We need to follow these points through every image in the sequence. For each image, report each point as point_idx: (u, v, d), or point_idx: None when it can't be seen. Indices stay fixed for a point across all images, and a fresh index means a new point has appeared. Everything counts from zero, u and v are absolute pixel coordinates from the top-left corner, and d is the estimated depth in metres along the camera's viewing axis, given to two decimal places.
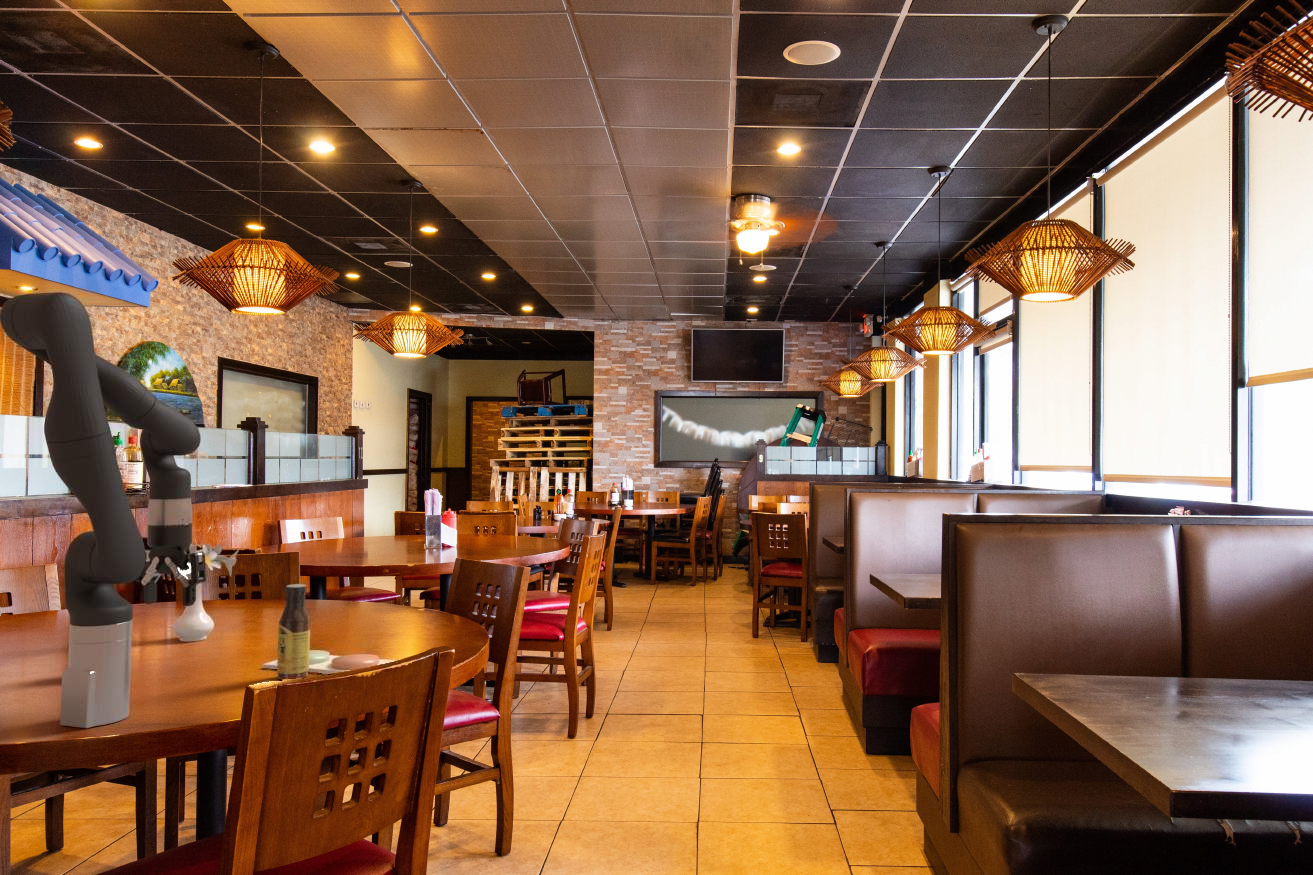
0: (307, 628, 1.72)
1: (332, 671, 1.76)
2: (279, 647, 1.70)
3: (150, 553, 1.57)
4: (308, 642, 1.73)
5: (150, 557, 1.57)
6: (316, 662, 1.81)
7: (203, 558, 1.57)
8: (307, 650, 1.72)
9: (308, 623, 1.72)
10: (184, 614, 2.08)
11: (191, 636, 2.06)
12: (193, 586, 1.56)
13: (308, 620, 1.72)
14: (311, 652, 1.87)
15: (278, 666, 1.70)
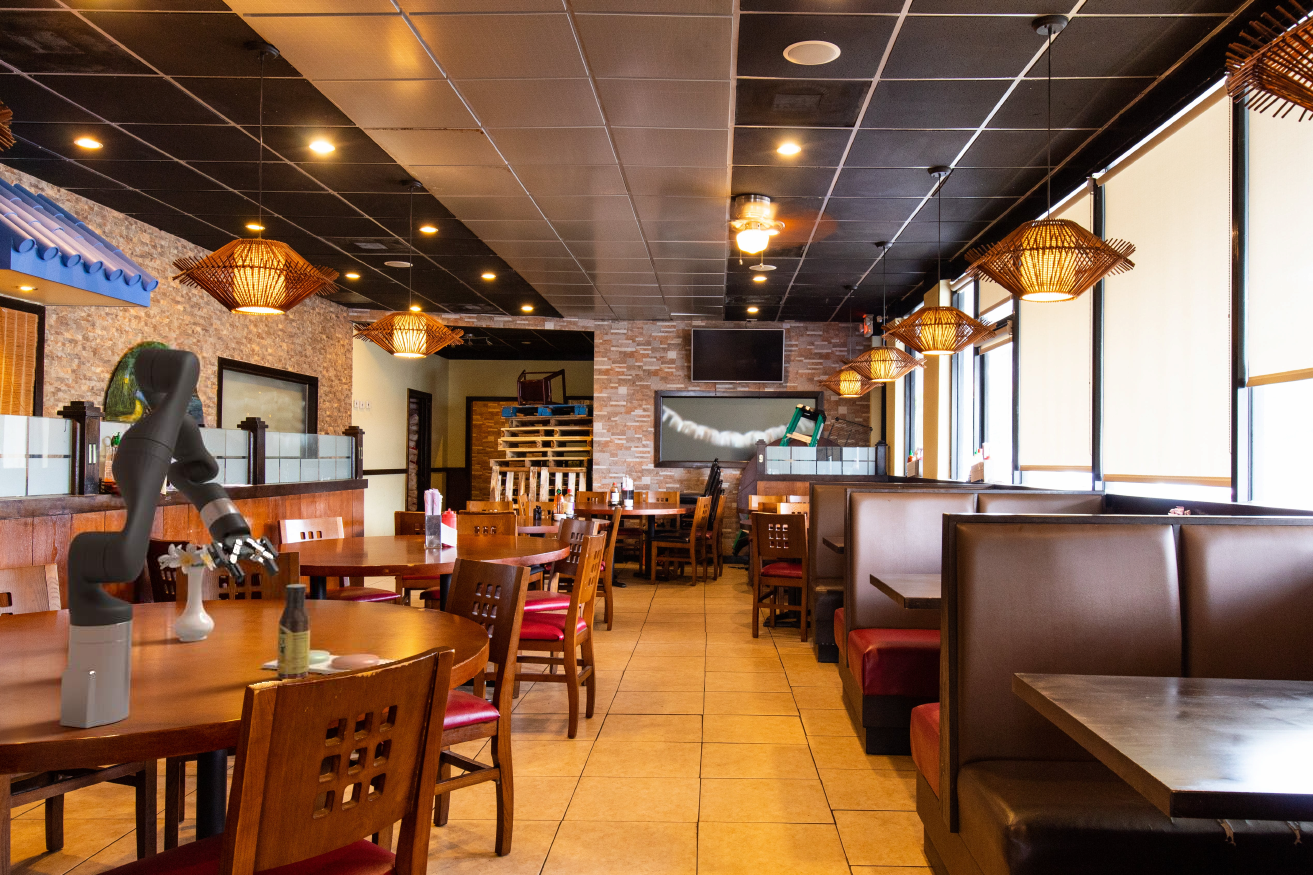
0: (307, 628, 1.72)
1: (332, 671, 1.76)
2: (279, 647, 1.70)
3: (226, 541, 1.78)
4: (308, 642, 1.73)
5: (228, 543, 1.78)
6: (316, 662, 1.81)
7: None
8: (307, 650, 1.72)
9: (308, 623, 1.72)
10: (184, 614, 2.08)
11: (191, 636, 2.06)
12: None
13: (308, 620, 1.72)
14: (311, 652, 1.87)
15: (278, 666, 1.70)
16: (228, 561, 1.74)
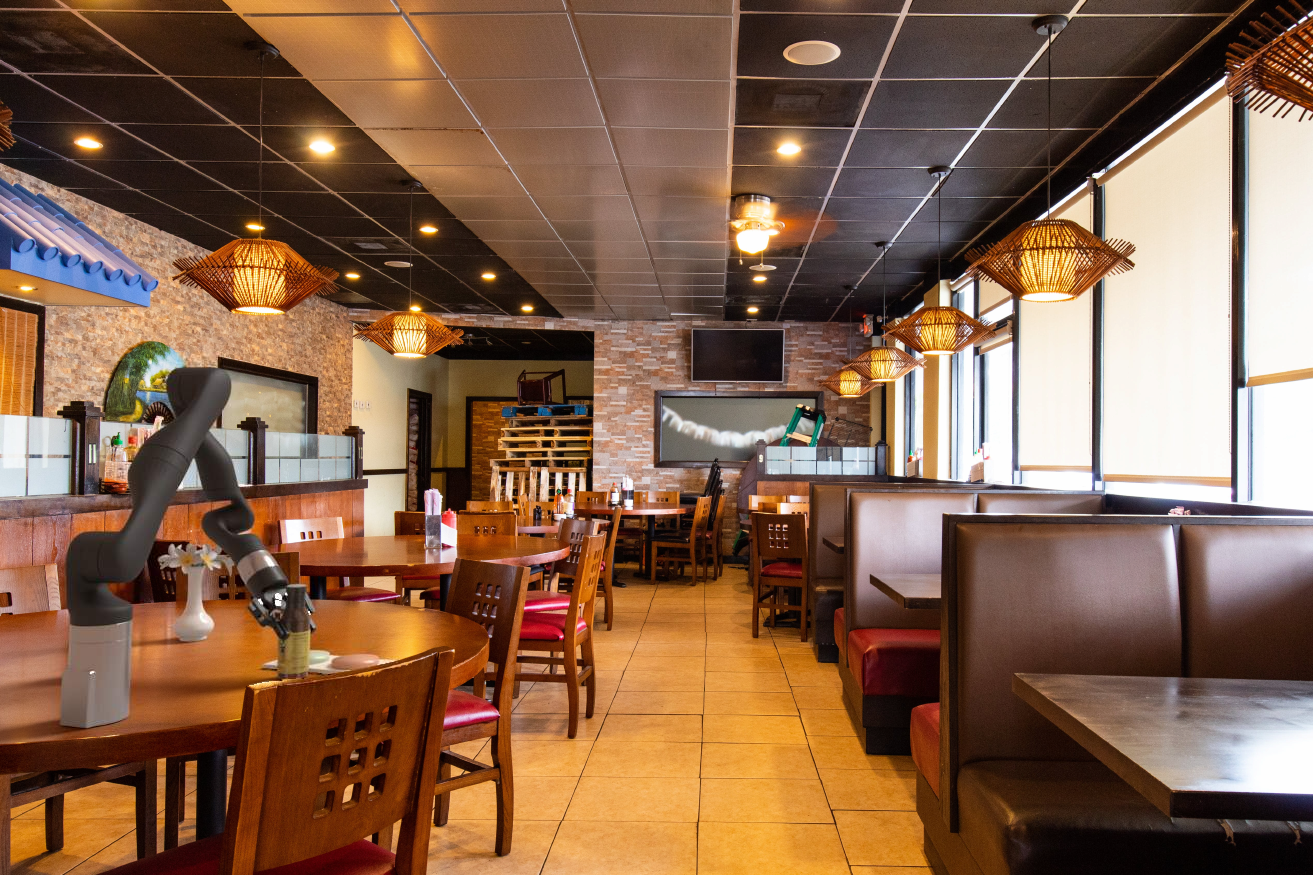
0: (307, 628, 1.72)
1: (332, 671, 1.76)
2: (279, 647, 1.70)
3: (265, 596, 1.72)
4: (308, 642, 1.73)
5: (267, 599, 1.72)
6: (316, 662, 1.81)
7: None
8: (307, 650, 1.72)
9: (308, 623, 1.73)
10: (184, 614, 2.08)
11: (191, 636, 2.06)
12: None
13: (308, 620, 1.72)
14: (311, 652, 1.87)
15: (278, 666, 1.70)
16: (273, 620, 1.69)
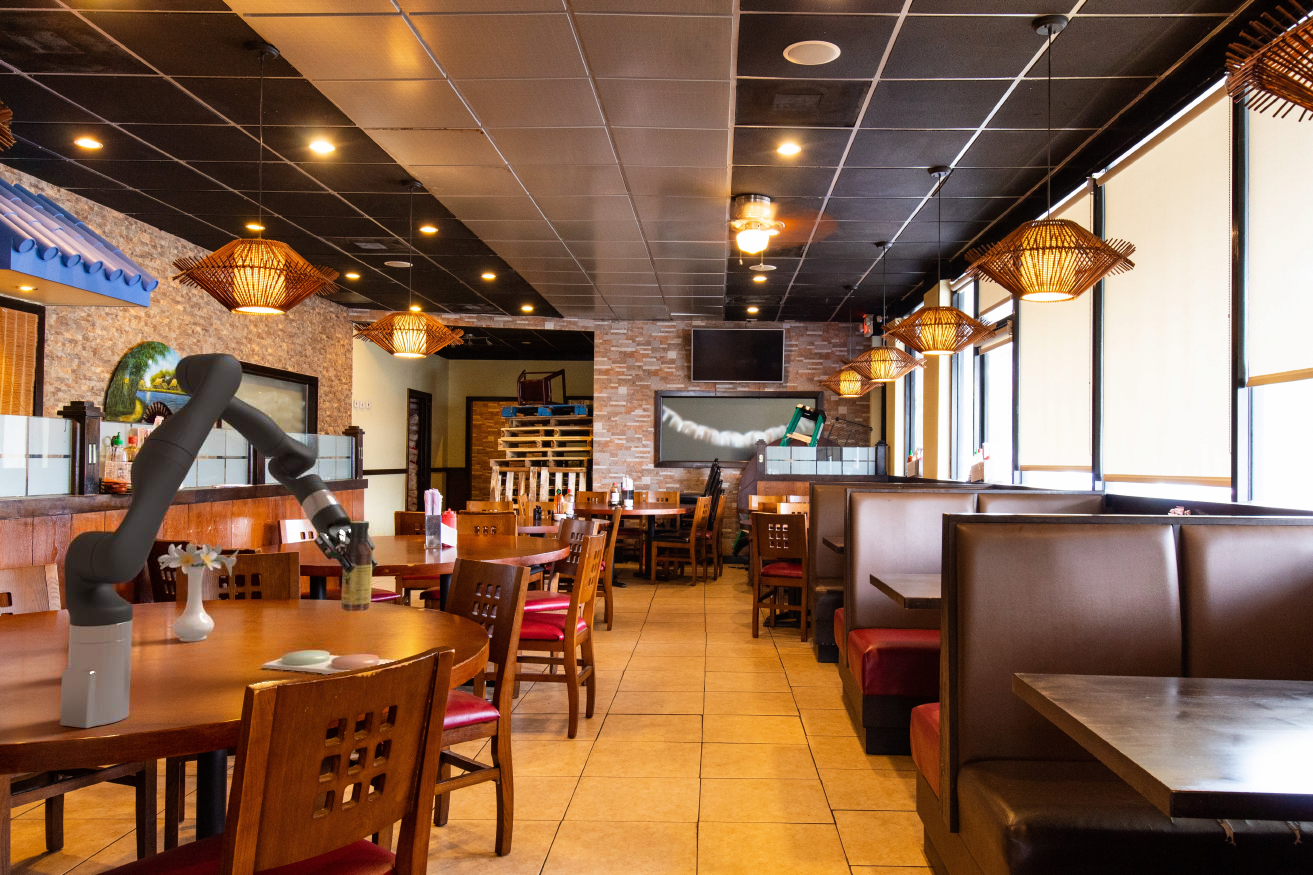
0: (370, 562, 1.81)
1: (332, 671, 1.76)
2: (344, 579, 1.79)
3: (330, 531, 1.81)
4: (370, 575, 1.82)
5: (332, 534, 1.81)
6: (316, 662, 1.81)
7: None
8: (369, 583, 1.81)
9: (371, 557, 1.82)
10: (184, 614, 2.08)
11: (191, 636, 2.06)
12: None
13: (371, 554, 1.82)
14: (311, 652, 1.87)
15: (343, 597, 1.80)
16: (338, 553, 1.78)
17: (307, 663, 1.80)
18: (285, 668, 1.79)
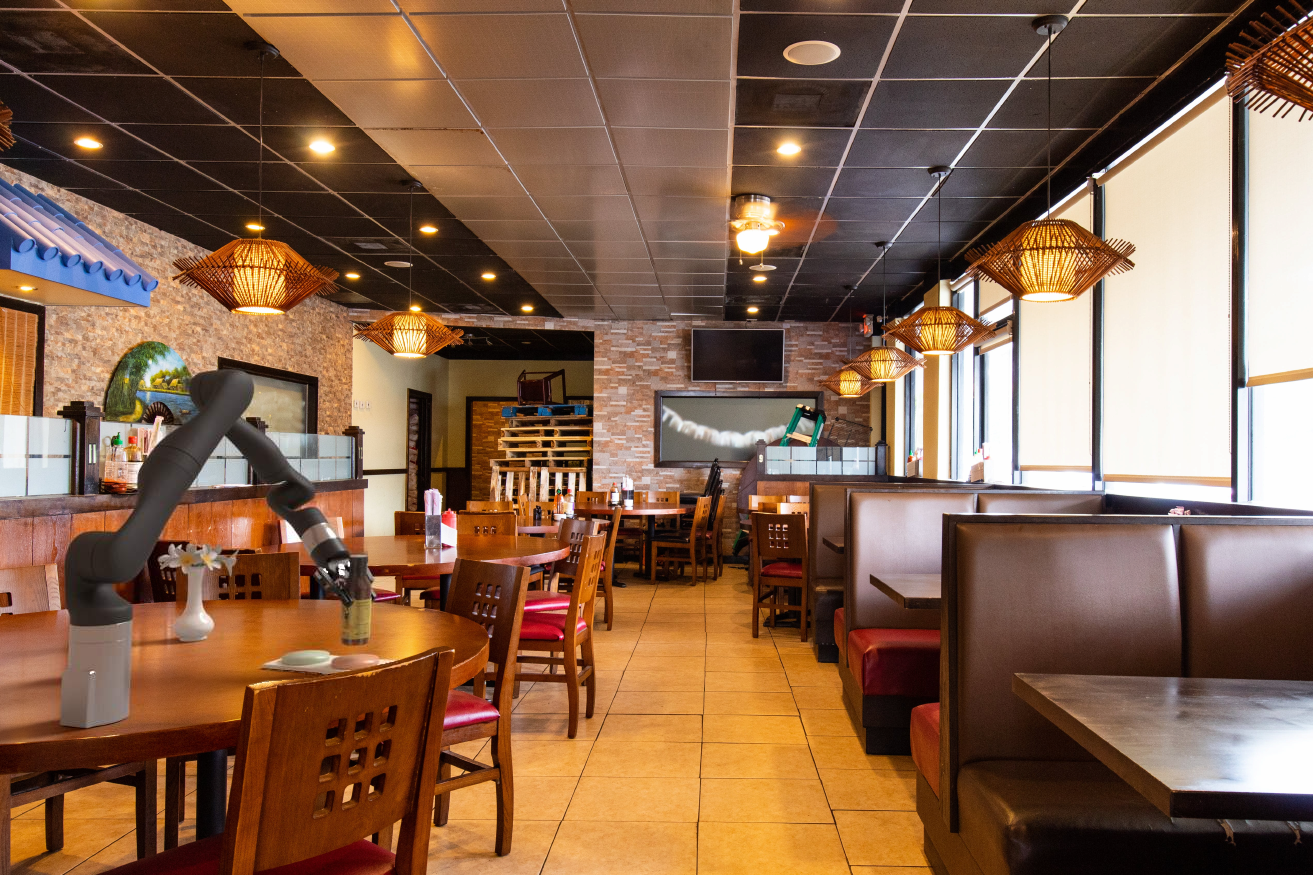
0: (369, 596, 1.81)
1: (332, 671, 1.76)
2: (343, 614, 1.79)
3: (329, 565, 1.81)
4: (370, 609, 1.82)
5: (331, 568, 1.81)
6: (316, 662, 1.81)
7: None
8: (369, 617, 1.81)
9: (370, 591, 1.81)
10: (184, 614, 2.08)
11: (191, 636, 2.06)
12: None
13: (370, 589, 1.81)
14: (311, 652, 1.87)
15: (342, 632, 1.79)
16: (338, 588, 1.78)
17: (307, 663, 1.80)
18: (285, 668, 1.79)
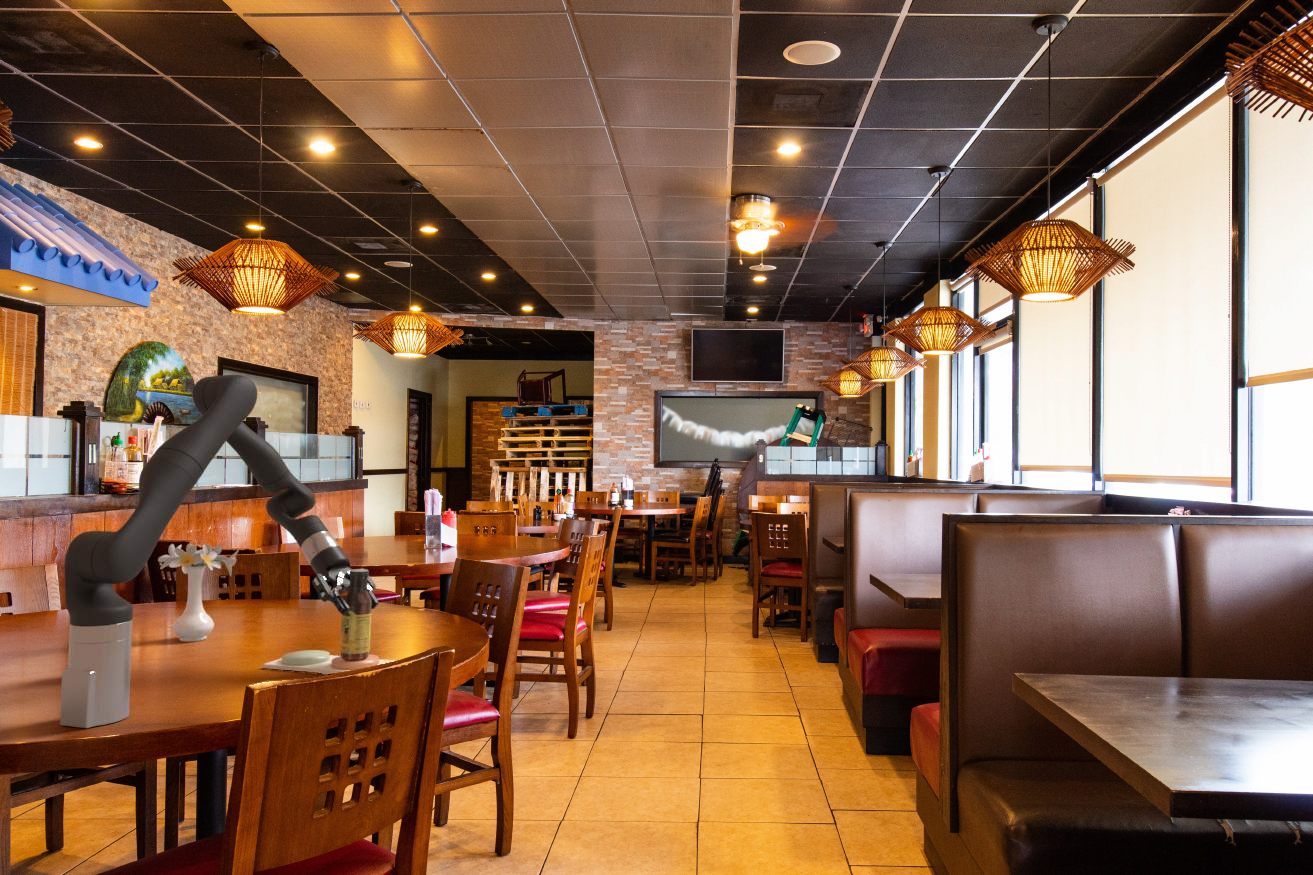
0: (369, 611, 1.81)
1: (332, 671, 1.76)
2: (343, 628, 1.79)
3: (329, 574, 1.81)
4: (370, 624, 1.82)
5: (331, 576, 1.81)
6: (316, 662, 1.81)
7: None
8: (368, 632, 1.81)
9: (370, 606, 1.82)
10: (184, 614, 2.08)
11: (191, 636, 2.06)
12: None
13: (370, 603, 1.82)
14: (311, 652, 1.87)
15: (342, 646, 1.79)
16: (333, 594, 1.77)
17: (307, 663, 1.80)
18: (285, 668, 1.79)
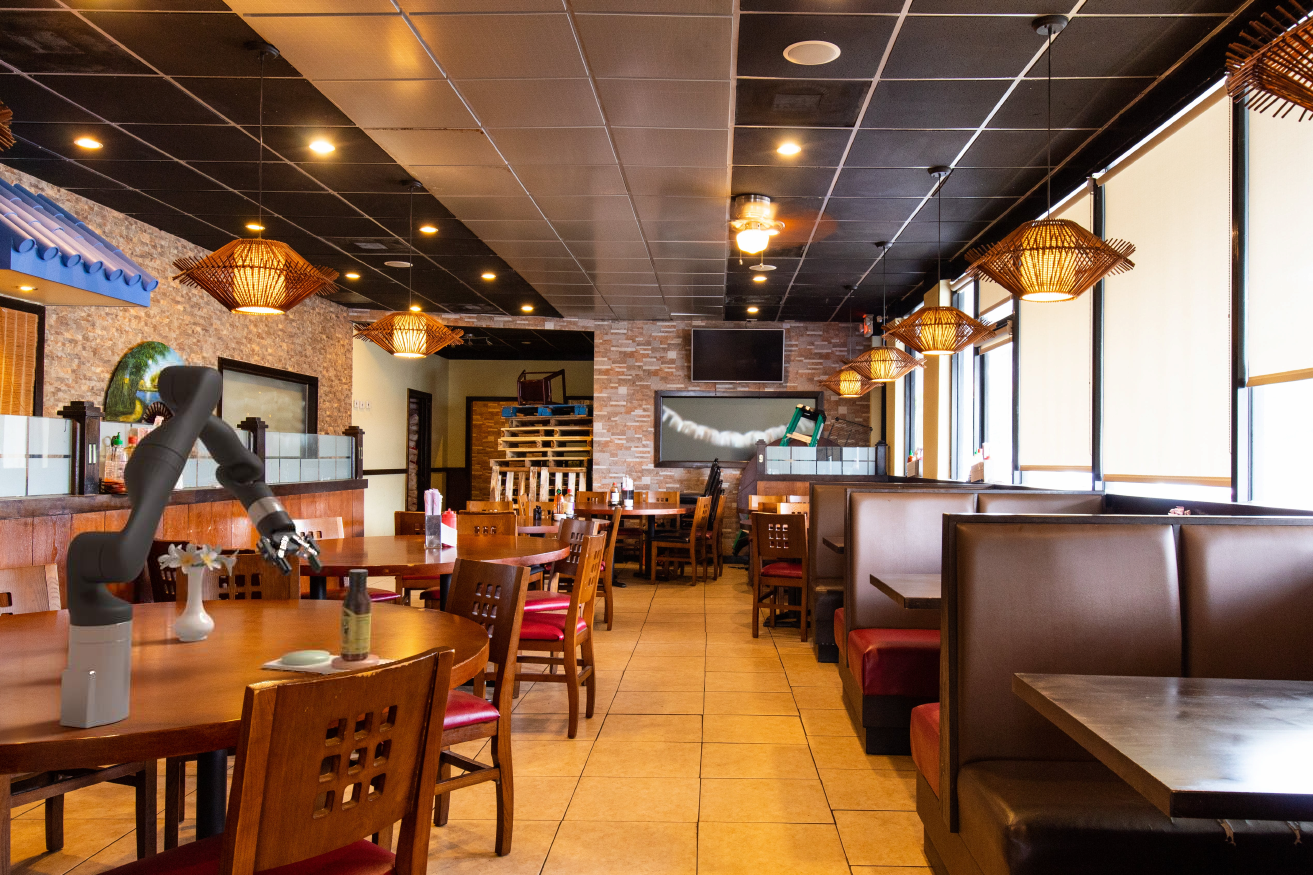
0: (369, 611, 1.81)
1: (332, 671, 1.76)
2: (343, 628, 1.79)
3: (273, 537, 1.85)
4: (369, 624, 1.82)
5: (275, 539, 1.85)
6: (316, 662, 1.81)
7: None
8: (368, 632, 1.81)
9: (369, 606, 1.81)
10: (184, 614, 2.08)
11: (191, 636, 2.06)
12: None
13: (370, 603, 1.81)
14: (311, 652, 1.87)
15: (341, 647, 1.79)
16: (276, 556, 1.81)
17: (307, 663, 1.80)
18: (285, 668, 1.79)
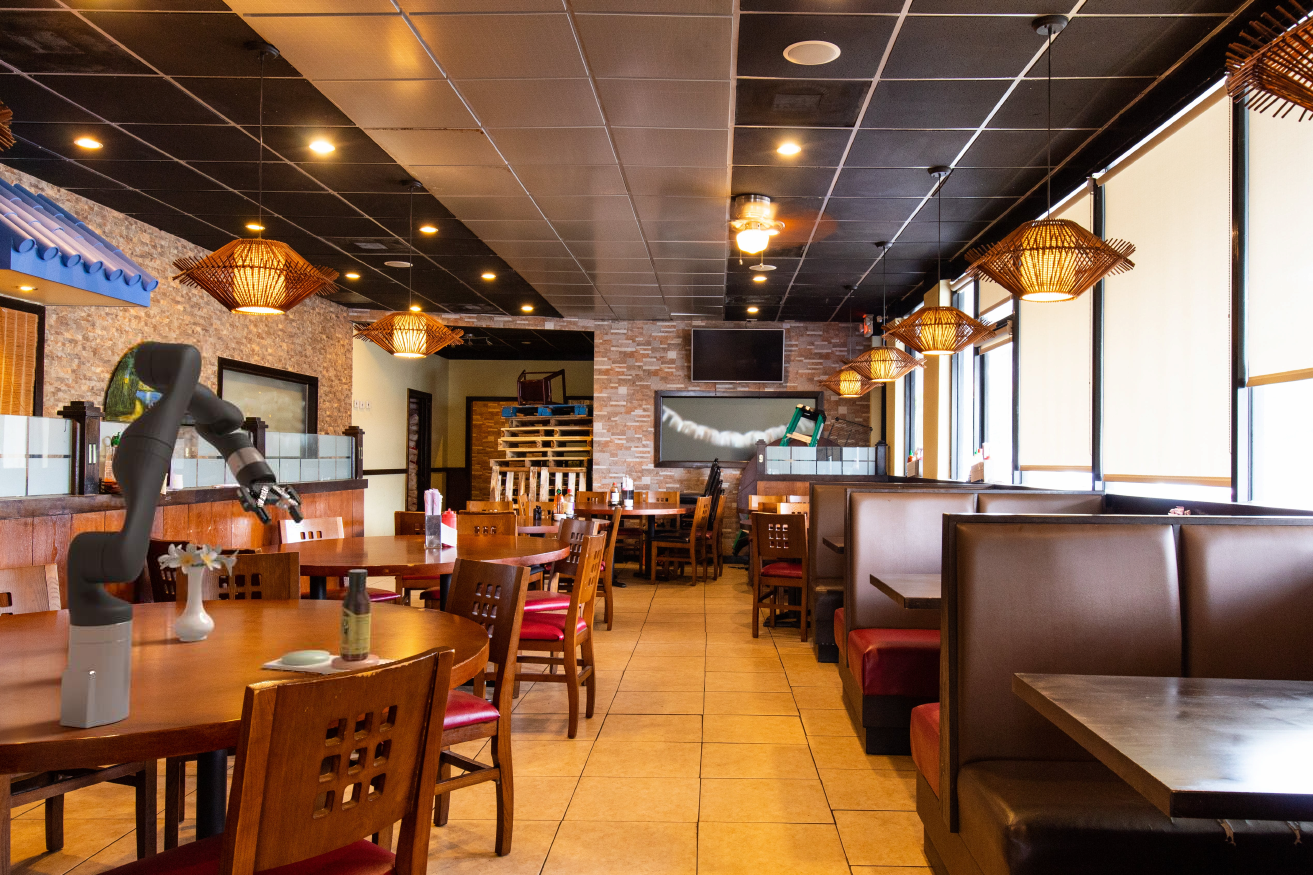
0: (368, 611, 1.81)
1: (332, 671, 1.76)
2: (342, 629, 1.79)
3: (253, 487, 1.83)
4: (369, 624, 1.81)
5: (255, 489, 1.83)
6: (316, 662, 1.81)
7: None
8: (368, 632, 1.81)
9: (369, 606, 1.81)
10: (184, 614, 2.08)
11: (191, 636, 2.06)
12: None
13: (369, 603, 1.81)
14: (311, 652, 1.87)
15: (341, 647, 1.79)
16: (256, 505, 1.80)
17: (307, 663, 1.80)
18: (285, 668, 1.79)
